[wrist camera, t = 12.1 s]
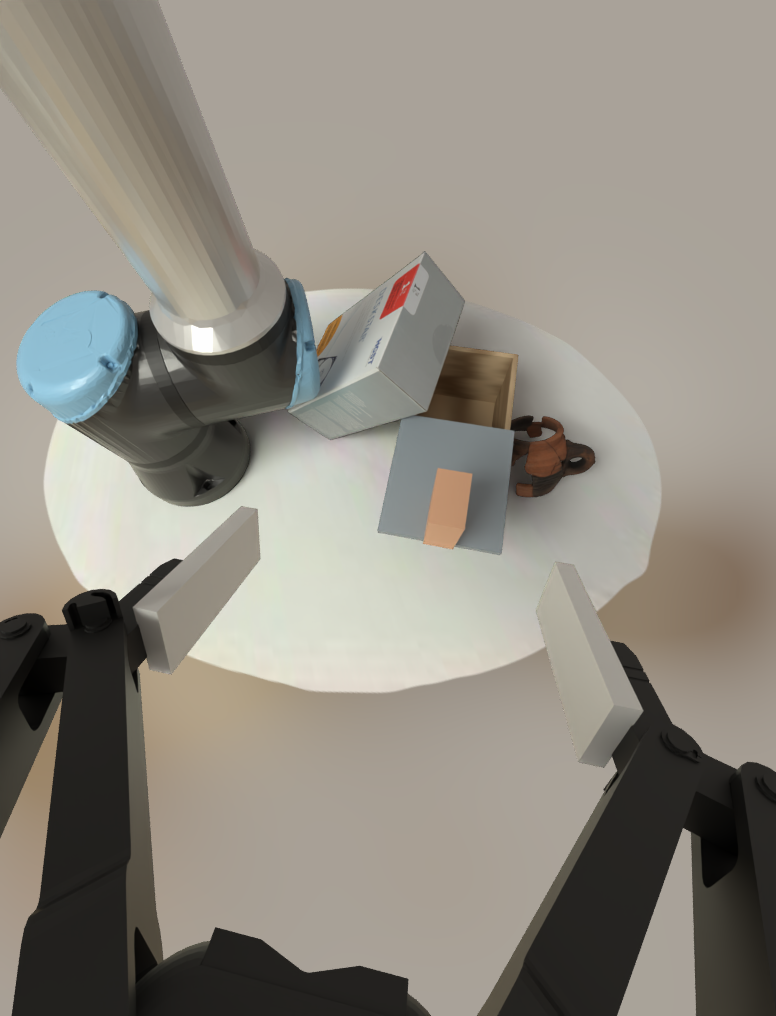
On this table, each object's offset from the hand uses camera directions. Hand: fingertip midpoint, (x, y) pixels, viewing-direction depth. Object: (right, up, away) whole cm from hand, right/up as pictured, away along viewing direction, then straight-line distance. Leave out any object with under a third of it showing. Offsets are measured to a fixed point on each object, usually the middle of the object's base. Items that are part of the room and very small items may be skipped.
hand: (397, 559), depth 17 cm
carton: (+9, +12, +37) cm, 40 cm away
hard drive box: (-9, +20, +38) cm, 44 cm away
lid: (+6, +5, +24) cm, 26 cm away
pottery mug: (+20, +8, +36) cm, 42 cm away
